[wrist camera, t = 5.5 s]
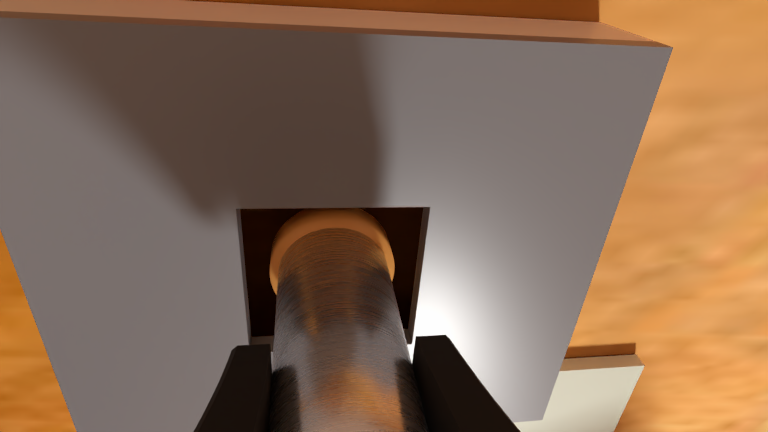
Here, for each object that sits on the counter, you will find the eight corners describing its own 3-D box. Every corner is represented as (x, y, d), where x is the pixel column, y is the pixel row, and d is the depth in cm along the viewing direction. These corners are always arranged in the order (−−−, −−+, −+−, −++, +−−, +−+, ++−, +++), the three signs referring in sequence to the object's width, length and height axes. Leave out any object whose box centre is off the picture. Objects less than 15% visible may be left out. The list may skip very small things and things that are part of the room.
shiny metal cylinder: (279, 316, 13) (249, 856, 6) (276, 227, 12) (231, 789, 4) (382, 312, 14) (483, 808, 6) (391, 227, 12) (539, 732, 5)
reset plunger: (273, 303, 14) (272, 322, 13) (268, 204, 12) (266, 221, 12) (385, 298, 15) (389, 317, 14) (394, 202, 13) (399, 218, 12)
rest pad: (446, 473, 23) (449, 486, 22) (470, 364, 19) (474, 376, 19) (588, 459, 24) (594, 471, 23) (635, 354, 20) (644, 365, 20)
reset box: (118, 376, 17) (86, 457, 14) (8, -9, 11) (-81, 13, 8) (510, 352, 19) (542, 419, 17) (600, 22, 13) (673, 47, 10)
